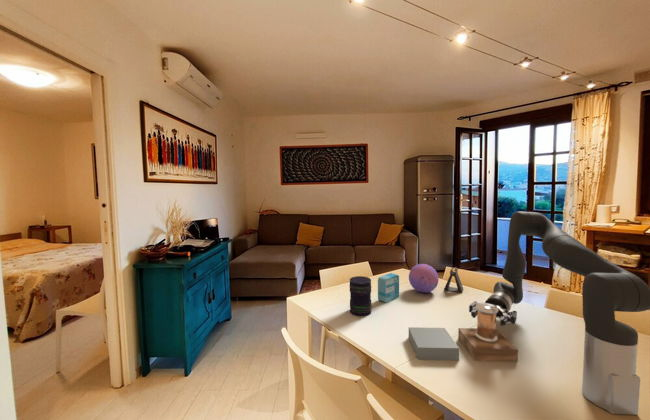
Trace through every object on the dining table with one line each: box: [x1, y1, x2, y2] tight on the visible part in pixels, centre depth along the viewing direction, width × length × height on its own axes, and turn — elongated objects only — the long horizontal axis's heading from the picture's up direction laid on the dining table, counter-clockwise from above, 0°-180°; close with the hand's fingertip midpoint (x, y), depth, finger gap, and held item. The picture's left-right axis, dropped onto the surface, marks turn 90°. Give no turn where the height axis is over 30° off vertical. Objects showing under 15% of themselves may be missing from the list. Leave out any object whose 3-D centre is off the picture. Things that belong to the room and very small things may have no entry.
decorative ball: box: [408, 263, 439, 294], centre depth 146 cm, size 15×15×15 cm
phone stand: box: [443, 266, 464, 294], centre depth 148 cm, size 9×6×12 cm, turn 57°
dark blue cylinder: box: [349, 275, 372, 318], centre depth 124 cm, size 10×10×15 cm
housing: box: [475, 302, 498, 343], centre depth 93 cm, size 7×7×11 cm
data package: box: [377, 272, 400, 304], centre depth 138 cm, size 12×4×12 cm, turn 131°
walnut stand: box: [457, 327, 519, 362], centre depth 93 cm, size 13×13×4 cm
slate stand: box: [408, 326, 460, 361], centre depth 95 cm, size 13×13×4 cm
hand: (487, 318), depth 93 cm, fingers open, 8 cm apart
